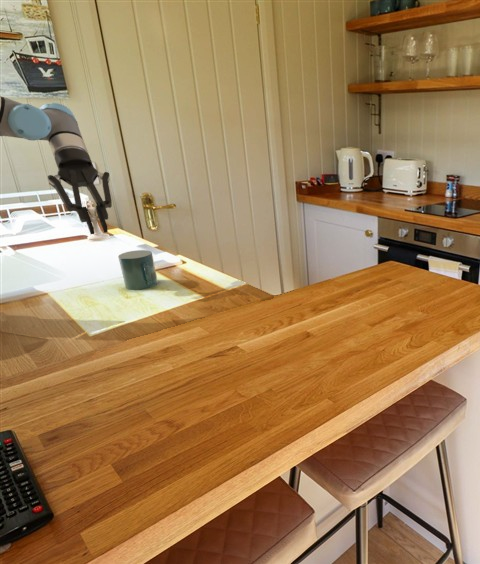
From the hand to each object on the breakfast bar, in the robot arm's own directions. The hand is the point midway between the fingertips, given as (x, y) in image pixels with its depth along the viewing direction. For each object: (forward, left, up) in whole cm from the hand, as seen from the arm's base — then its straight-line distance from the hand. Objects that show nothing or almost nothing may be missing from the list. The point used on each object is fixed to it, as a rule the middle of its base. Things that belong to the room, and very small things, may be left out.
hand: (99, 230), depth 106 cm
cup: (+4, +7, -18) cm, 20 cm away
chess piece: (-2, +3, -3) cm, 5 cm away
